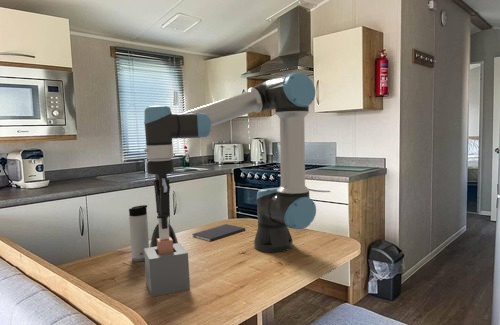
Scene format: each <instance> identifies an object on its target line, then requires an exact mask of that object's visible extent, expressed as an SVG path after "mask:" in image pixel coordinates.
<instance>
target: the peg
mask: <svg viewBox="0 0 500 325" xmlns="http://www.w3.org/2000/svg"><path fill="white" fill-rule="evenodd" d="M157 251H158V255H160V254H166V253H172V252H173V240H172V239H171V237H169V239H163V240H160V239H159V238H158V239H157Z"/></svg>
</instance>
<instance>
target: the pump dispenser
mask: <svg viewBox="0 0 500 325" xmlns="http://www.w3.org/2000/svg"><path fill="white" fill-rule="evenodd" d="M169 237H171V239H172V240H173V244H176V243H179V242H178V238H177V235H176V232H175V230H174V228H173V226H172V225H171V223H169ZM158 238H159V223H157V224H156V226H155V227H154V229H153V232H152V236H151V240H150V243H149V248H150V247H157V239H158Z"/></svg>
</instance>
